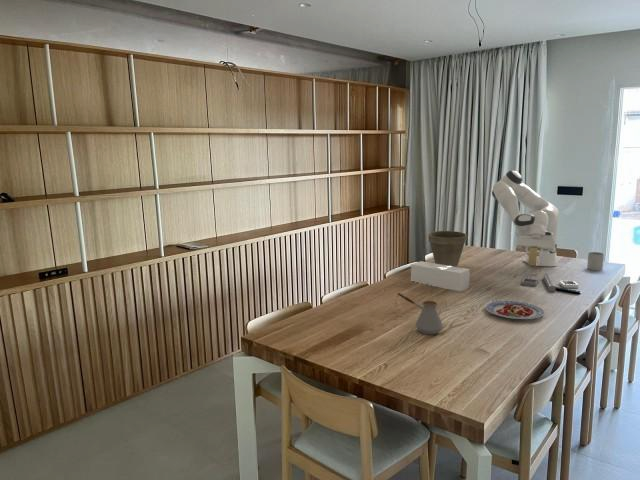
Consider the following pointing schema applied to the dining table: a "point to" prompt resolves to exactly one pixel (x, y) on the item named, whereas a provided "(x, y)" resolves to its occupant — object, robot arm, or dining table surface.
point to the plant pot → (447, 246)
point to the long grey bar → (549, 283)
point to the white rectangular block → (440, 275)
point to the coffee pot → (427, 317)
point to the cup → (595, 261)
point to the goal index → (529, 282)
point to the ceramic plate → (515, 309)
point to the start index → (568, 284)
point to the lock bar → (533, 255)
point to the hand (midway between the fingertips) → (533, 255)
